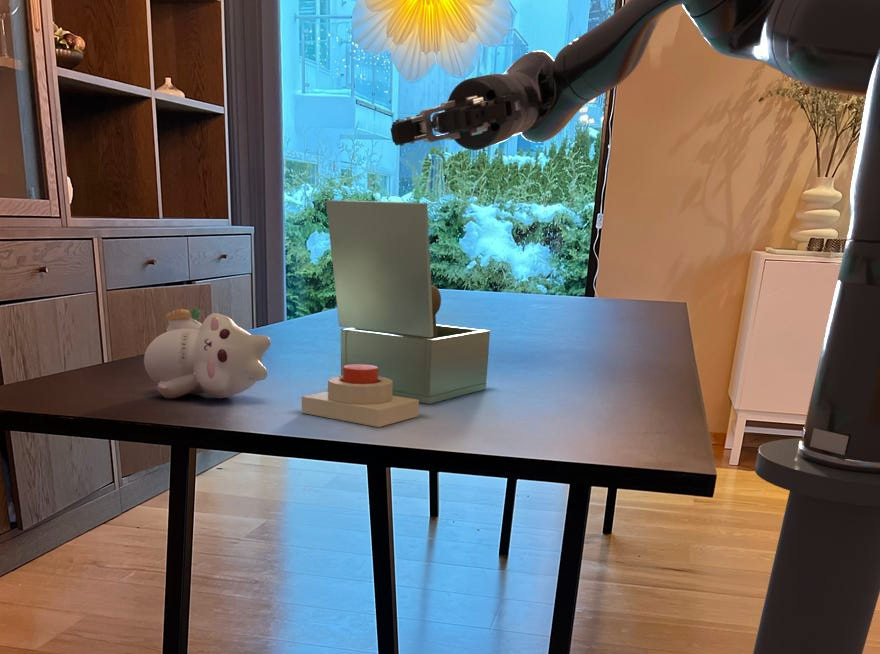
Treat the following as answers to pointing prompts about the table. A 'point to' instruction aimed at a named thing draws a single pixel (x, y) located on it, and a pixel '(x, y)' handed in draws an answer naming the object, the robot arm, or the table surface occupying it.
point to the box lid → (381, 265)
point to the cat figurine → (205, 356)
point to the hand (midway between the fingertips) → (428, 127)
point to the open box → (422, 360)
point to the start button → (360, 374)
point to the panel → (361, 403)
